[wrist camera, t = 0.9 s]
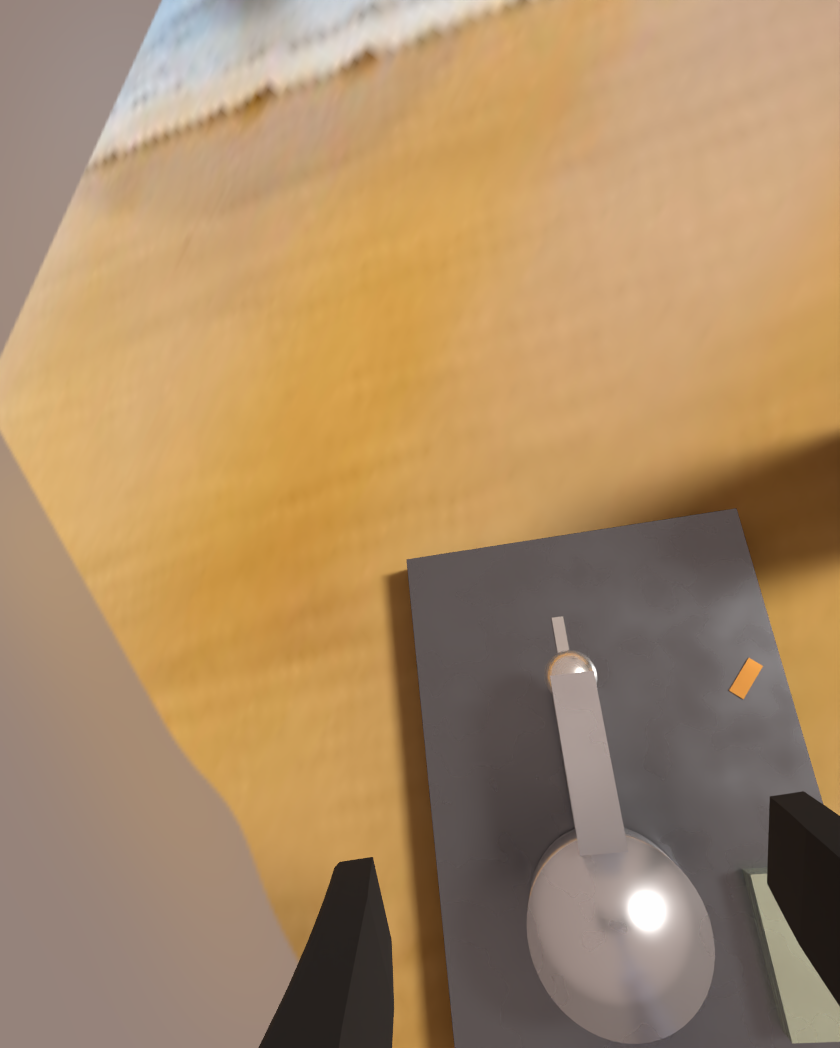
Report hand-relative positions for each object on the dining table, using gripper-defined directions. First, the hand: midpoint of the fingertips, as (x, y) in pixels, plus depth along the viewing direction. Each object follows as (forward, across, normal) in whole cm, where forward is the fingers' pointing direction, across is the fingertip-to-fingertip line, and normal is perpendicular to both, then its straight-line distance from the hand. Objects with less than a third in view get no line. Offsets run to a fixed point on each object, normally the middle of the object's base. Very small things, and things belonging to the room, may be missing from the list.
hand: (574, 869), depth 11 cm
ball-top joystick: (+11, -3, +10) cm, 15 cm away
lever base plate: (+13, -4, +10) cm, 17 cm away
